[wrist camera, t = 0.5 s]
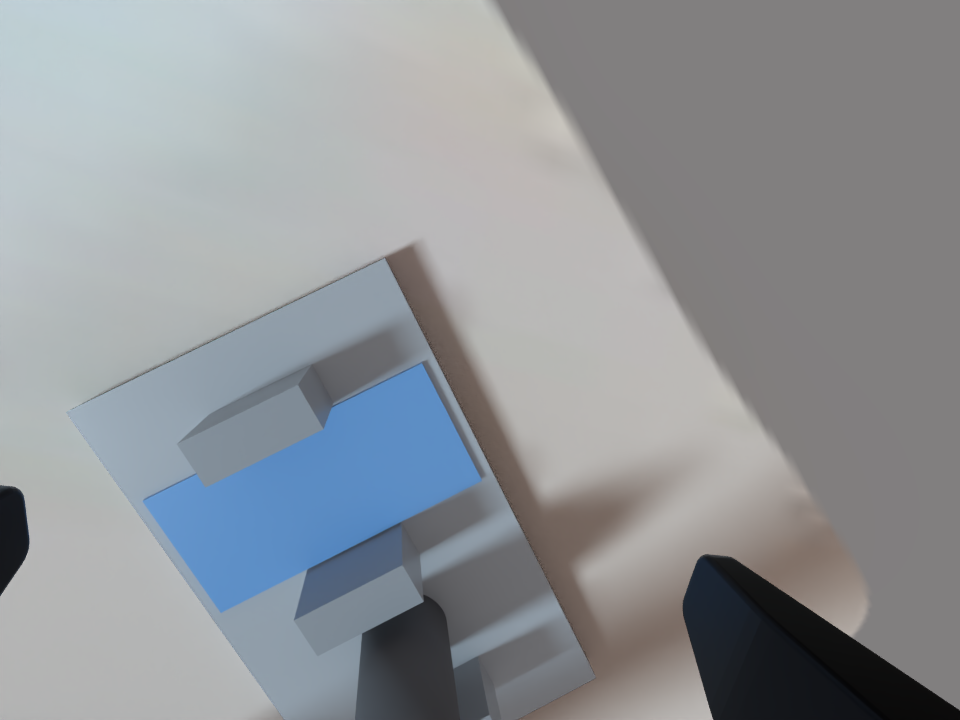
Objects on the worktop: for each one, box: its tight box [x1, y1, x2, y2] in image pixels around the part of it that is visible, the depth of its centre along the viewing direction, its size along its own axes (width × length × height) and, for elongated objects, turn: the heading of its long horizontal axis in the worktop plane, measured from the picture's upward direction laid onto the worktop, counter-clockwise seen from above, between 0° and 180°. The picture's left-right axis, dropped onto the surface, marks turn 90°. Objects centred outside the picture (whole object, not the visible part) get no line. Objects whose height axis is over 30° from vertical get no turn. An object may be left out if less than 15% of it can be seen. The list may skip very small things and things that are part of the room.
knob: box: [355, 595, 460, 720], centre depth 19 cm, size 3×3×8 cm
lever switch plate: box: [66, 258, 596, 720], centre depth 21 cm, size 12×20×4 cm, turn 25°
